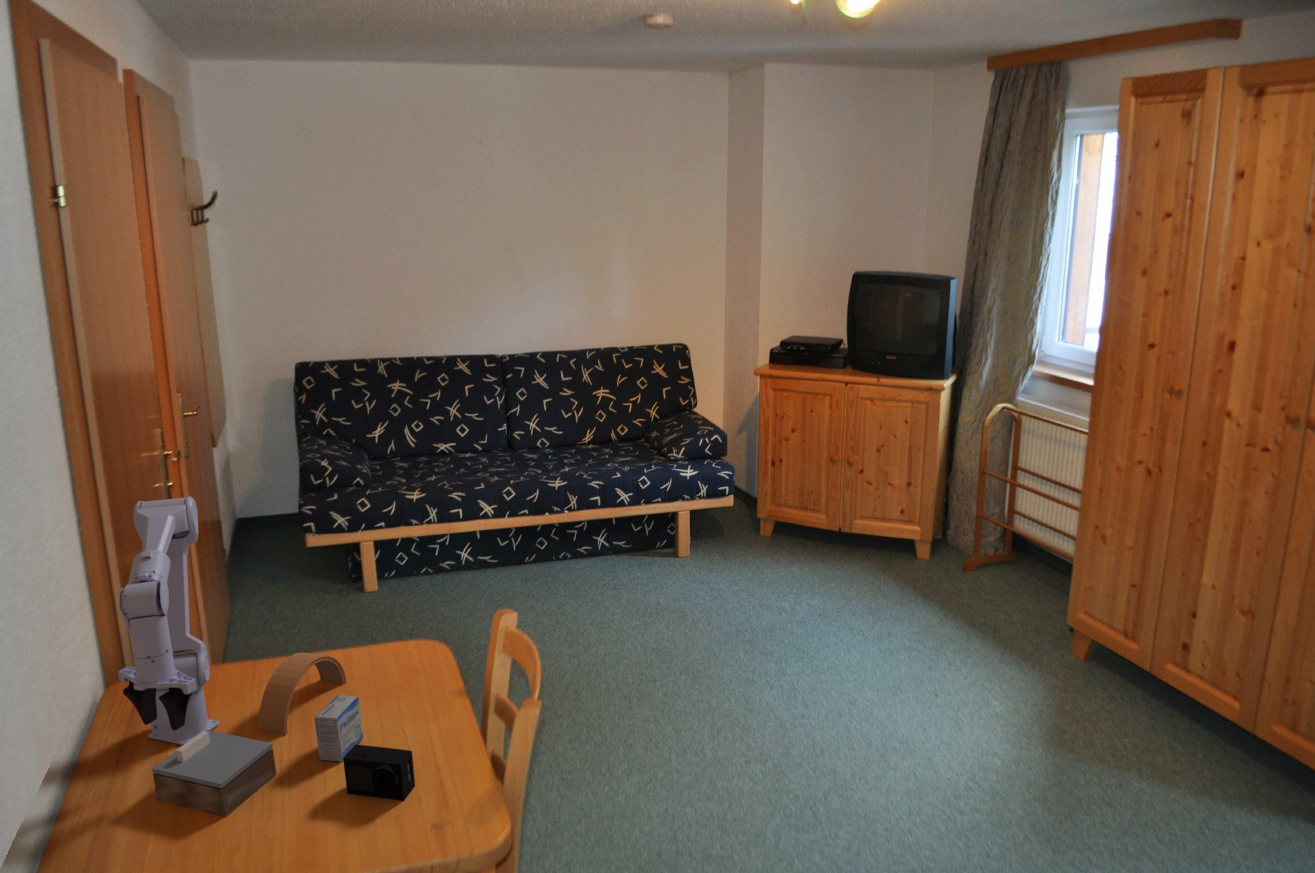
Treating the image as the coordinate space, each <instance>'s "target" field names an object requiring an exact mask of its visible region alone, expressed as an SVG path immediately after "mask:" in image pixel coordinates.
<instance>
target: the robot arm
mask: <svg viewBox="0 0 1315 873" xmlns="http://www.w3.org/2000/svg"><path fill="white" fill-rule="evenodd" d="M133 524H134V527H135V531H136V532H137V533H138V536H139V538H140V539H141V541H142V550H141V551H140V552H138V553H137V554H136V555H135V557H134V558H133V560H132V561H133V562H132V566H131V570H130V573H129V577H128V582H127V584H126V585H125V587H122V588H120V590H119V593H118V604H119V611H120V612H119V613H120V616H121V618H122V620H123V622H124V627H125V630H126V632H127V631H128V632H129V638H130V644H131V650H132V655H133V662H134V666H126V667H124V668H122V669H121V670H119V671H118V678H119V679H118V680H119V682H120V683H124V684H125V683H127V682H128V686H127V687H125V688H123V689H122V694H123V695H124V696H125V697H126V698H127V699H128V700H129V701H130V702H131V703H132V705H133V706H134V708H135V709H136V711H137V713H138V715H139V717H140V719H141V720H142V723H143V724H144V725H146V726H147V725H149V724H150V729H151V732H150V733H149V734H148V735H147V736H148V738H149V739H153V740H158V741H163V742H167V743H172V744H177V745H181V746H183V745H184V744H185V743H187V742H188V741H190V740H191V739H193V738H194V737H195V736H197V735H198V734H200V733H201V732H202V731H206V730H210V731H213V729H215V728H216V727H217V726H219V725H220V721H219V720H216V719H215V720H214V719H210V718H208V713H207V704H206V700H205V699H206V698H205V693H204V686H205V685H207V683H208V682H209V681H210V675H211V674H210V671H211V669H210V659H209V655H208V647H207V646H206V643H205V642H204V641H202V640H200V639H199V638H197V637H195V636H193V635H191V632H190V631H191V630H190V604H189V603H190V602H189V600H190V599H189V582H188V581H189V579H188V577H189V576H188V554H189V549H190V546H192V545H194V544H195V543H197V542H198V536H199V515H198V507H197V503H196V500H195V499H194V497H192V496H191V495H190V496H186V497H181V498H180V497H179V498H170V499H169V498H167V499H161V500H160V499H158V500H148V501H143V500H140V501H137V502H136V504H135V505H134V507H133Z"/></svg>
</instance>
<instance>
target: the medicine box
mask: <svg viewBox="0 0 1315 873" xmlns="http://www.w3.org/2000/svg"><path fill="white" fill-rule="evenodd" d="M361 715H362V714H361V706H360V698H359V697H358V696H352V695H345V694H344V695H343V694H338V695H336V696H335V697H334V698H333V699H332V700H331V701H330V702H329V703H328V704H327V705H326V706H325V707H324V708H323V709H322V710H321V711H320V712H319V713H318V714H317V715H316V716H314V723H315V724H314V725H315V732H316V741H317V747H318V755H319V760H321V761H329V762H330V761H331V762H341V763H343V762H344V761H343V758H344V757H345V755H346V754H347V753H348V752H349V751H350V750H351V749H352V748H353V746H354V745H355V744H357V745H359V743H360V742H361V741H362V740H363V738H364V733H363V732H364V731H363V725H362V716H361Z"/></svg>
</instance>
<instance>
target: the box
mask: <svg viewBox="0 0 1315 873" xmlns="http://www.w3.org/2000/svg"><path fill="white" fill-rule="evenodd" d="M152 776H153V781H154V788H155V789H154V790H155V793H156V800H157V802H162V803H164V804H165V803H166V804H170V805H174V806H178V807H182V808H187V809H190V810H194V811H198V812H202V813H203V812H204V813H207V814H212V815H215V816H219V817H223V818H227V817H228V816H229V815H230V814H232V813H233V812H234V811H235V810H236V809H237V808H239V807H240V806H241V805H242V804H244V802H246V801H247V800H248V799H249V798H250V797H252V796H253V795H254V794H255V793H257V792H258V791H259V790H260V789H261V788H262V787H263V786H265V785H266V784H267V783H269V782H270V781H271V780H272V779H273V778H274V777H276V776H277V769H276V762H275V754H274V748H272V749H270V750H269V751H268V752H267V753H265V754H264V755H263V756H261V757H260V758H259V759H258V760H256V761H255V762H254V763H253V764H251V765H250V766H249V767H248V768H246V769H245V770H244V771H243V772H241V773H240V774H239V775H238V776H236V777H235V778H234V779H233V780H231V781H230V782H229V783H228V784H226V785H225V786H224V787H223V788H217V787H213V786H208V785H204V784H200V783H195V782H191V781H187V780H182V779H178V778H174V777H169V776H165V775H161V774H156V773H152Z"/></svg>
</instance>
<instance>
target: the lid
mask: <svg viewBox="0 0 1315 873" xmlns="http://www.w3.org/2000/svg"><path fill="white" fill-rule="evenodd" d="M270 749H274V748H273V743H272V742H268V741H262V740H259V739H258V740H257V739H254V738H248V737H245V736H244V737H243V736H239V735H235V734H228V733H226V732H225V733H224V732H219V731H215V730H206V731H202V732H201V733H200V734H198V735H197V736H195V737H194V738H193V739H191V740H190V741H188V742H187V743H185V744H184V745H181V746H180V747H178V748H177V749H176V750H175V751H174V752H173V753H172V754H171V755H169V756H168V757H166V758H164V759H163V760H161V761H160V762H158V764H156V765H155V766H153V767H152V768H151V770H152V774H154V773H156V774H161V775H165V776H169V777H174V778H178V779H182V780H187V781H191V782H195V783H200V784H204V785H208V786H213V787H217V788H223V787H224V786H225V785H226V784H228V783H229V782H230V781H231V780H233V779H234V778H235V777H236V776H238V775H239V774H240V773H241V772H243V771H244V770H245V769H246V768H248V767H249V766H250V765H251V764H253V763H254V762H255V761H256V760H258V759H259V758H260V757H261V756H263V755H264V754H265V753H267V752H268V751H269V750H270Z"/></svg>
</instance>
